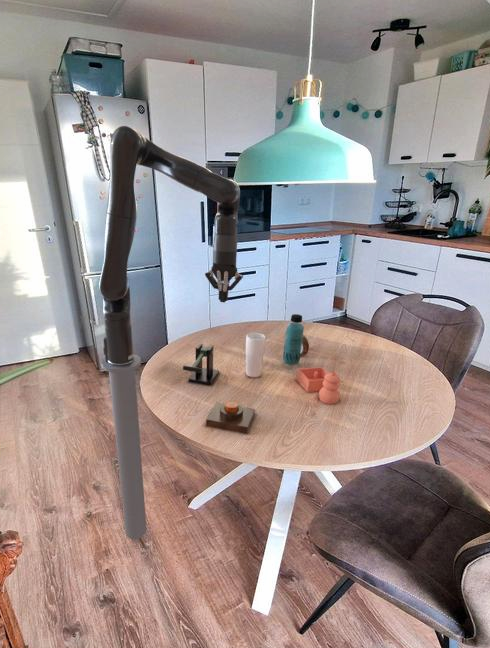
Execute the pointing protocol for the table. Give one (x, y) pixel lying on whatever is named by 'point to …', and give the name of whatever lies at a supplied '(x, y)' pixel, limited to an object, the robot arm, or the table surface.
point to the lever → (197, 361)
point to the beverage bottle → (293, 341)
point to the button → (231, 407)
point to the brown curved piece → (303, 345)
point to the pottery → (320, 383)
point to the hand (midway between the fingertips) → (223, 301)
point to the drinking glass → (254, 353)
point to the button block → (231, 418)
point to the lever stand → (204, 369)
